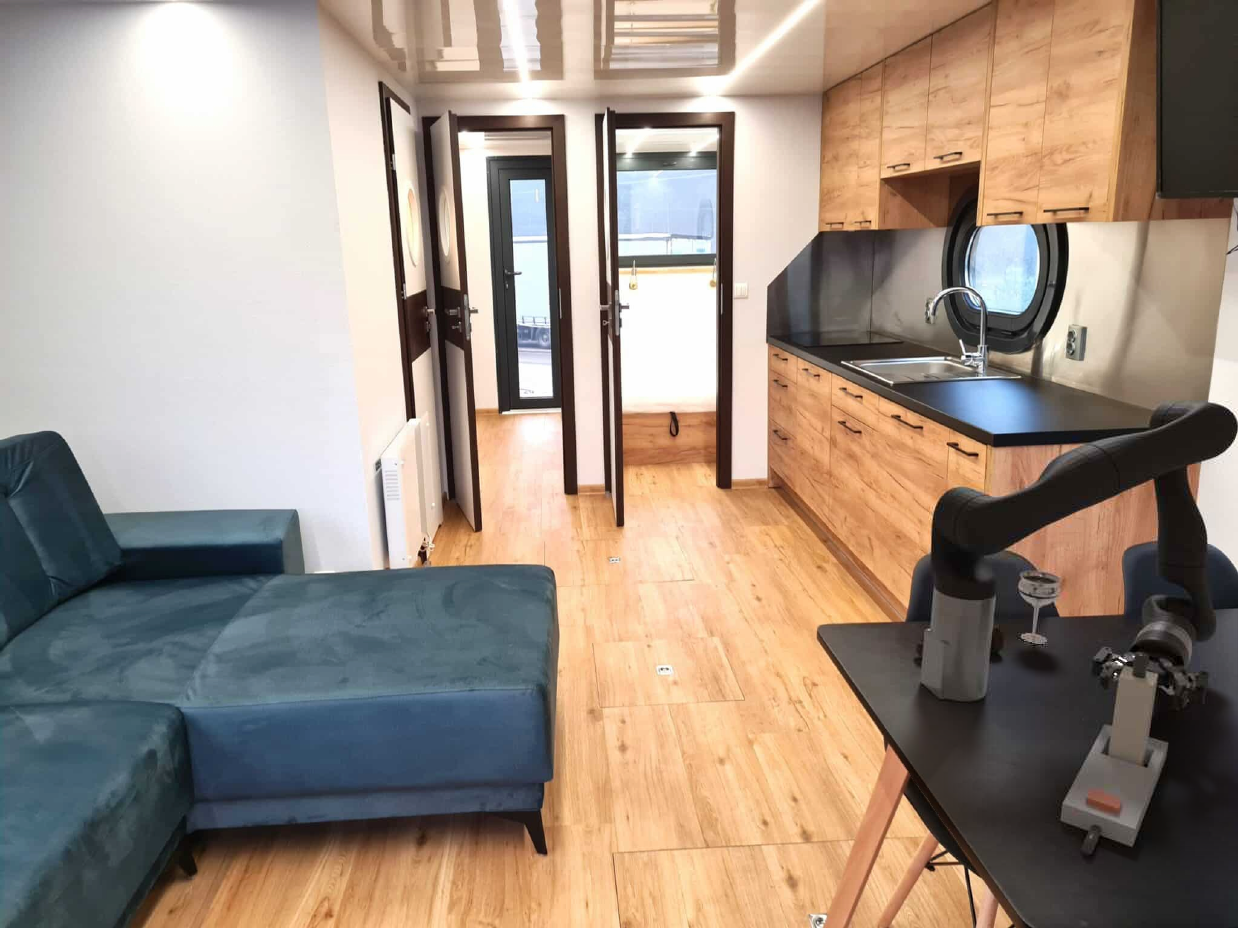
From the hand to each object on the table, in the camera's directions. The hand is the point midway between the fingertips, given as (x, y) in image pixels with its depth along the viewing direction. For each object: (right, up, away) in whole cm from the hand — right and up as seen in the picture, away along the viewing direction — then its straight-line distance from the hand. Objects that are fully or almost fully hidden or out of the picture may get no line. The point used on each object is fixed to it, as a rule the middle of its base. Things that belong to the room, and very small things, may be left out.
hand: (1140, 693), depth 123 cm
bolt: (-13, -2, +33) cm, 36 cm away
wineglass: (+3, 0, +39) cm, 39 cm away
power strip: (-8, -12, -7) cm, 16 cm away
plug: (-3, -10, -1) cm, 10 cm away
